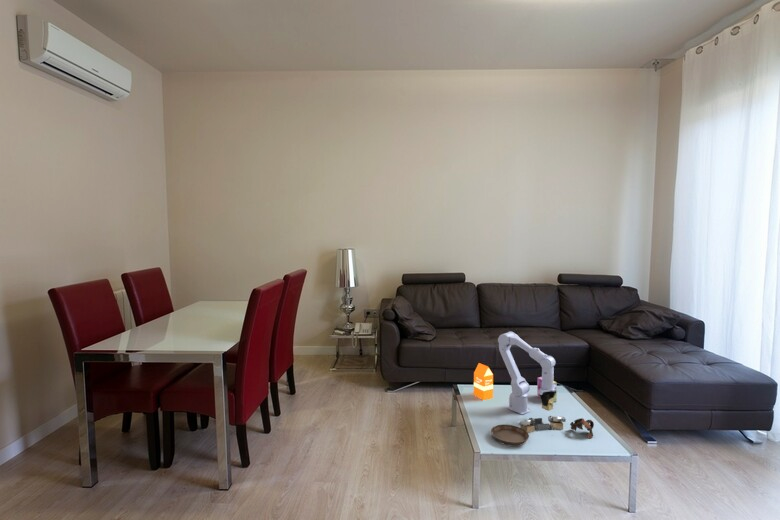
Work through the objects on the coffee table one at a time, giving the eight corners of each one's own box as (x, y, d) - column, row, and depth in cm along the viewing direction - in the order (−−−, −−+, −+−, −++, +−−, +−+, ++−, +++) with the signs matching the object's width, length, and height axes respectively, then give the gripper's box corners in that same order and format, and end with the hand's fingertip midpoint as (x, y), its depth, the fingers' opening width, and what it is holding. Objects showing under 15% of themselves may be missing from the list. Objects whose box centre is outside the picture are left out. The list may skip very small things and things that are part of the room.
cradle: (537, 430, 194) (537, 425, 193) (530, 423, 201) (530, 418, 200) (549, 429, 195) (549, 424, 195) (541, 422, 202) (541, 417, 202)
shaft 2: (550, 428, 195) (550, 418, 195) (547, 424, 199) (547, 414, 199) (566, 429, 195) (566, 418, 194) (562, 425, 199) (563, 414, 199)
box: (536, 396, 235) (537, 377, 235) (544, 395, 237) (545, 376, 237) (548, 403, 226) (549, 383, 225) (556, 401, 227) (557, 382, 227)
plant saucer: (489, 428, 196) (489, 422, 196) (525, 431, 194) (525, 425, 193) (492, 447, 179) (492, 440, 179) (532, 450, 176) (532, 443, 176)
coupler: (540, 407, 206) (540, 396, 205) (544, 405, 208) (545, 394, 208) (550, 411, 201) (550, 400, 201) (554, 409, 204) (554, 398, 203)
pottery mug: (587, 442, 183) (577, 425, 185) (573, 442, 191) (564, 425, 193) (602, 430, 188) (593, 414, 190) (588, 430, 196) (579, 414, 199)
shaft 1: (529, 426, 198) (529, 415, 197) (536, 430, 194) (536, 419, 193) (518, 430, 194) (518, 419, 194) (524, 433, 190) (524, 422, 190)
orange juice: (483, 400, 229) (483, 368, 228) (473, 395, 237) (473, 363, 236) (493, 398, 233) (493, 365, 232) (483, 393, 241) (483, 361, 240)
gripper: (546, 384, 196) (546, 410, 197) (562, 378, 205) (561, 403, 206) (534, 380, 202) (534, 405, 203) (550, 374, 211) (549, 399, 211)
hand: (547, 404), depth 205 cm, fingers closed on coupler, 4 cm apart
